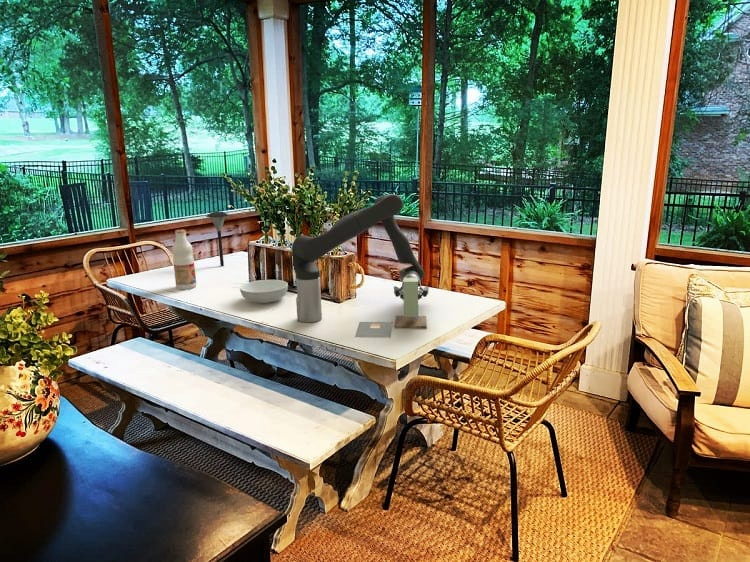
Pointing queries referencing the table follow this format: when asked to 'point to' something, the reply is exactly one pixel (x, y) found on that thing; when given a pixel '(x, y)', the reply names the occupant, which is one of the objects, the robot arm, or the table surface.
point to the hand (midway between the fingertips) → (410, 297)
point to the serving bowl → (264, 290)
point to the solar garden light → (218, 229)
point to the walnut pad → (411, 322)
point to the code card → (374, 330)
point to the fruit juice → (183, 262)
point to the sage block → (410, 297)
